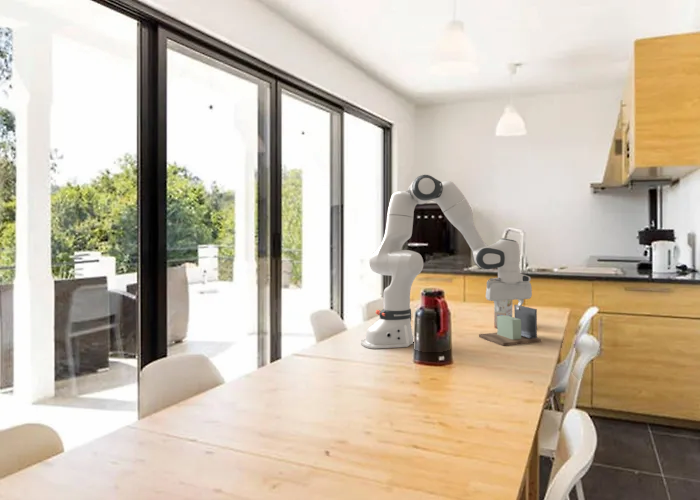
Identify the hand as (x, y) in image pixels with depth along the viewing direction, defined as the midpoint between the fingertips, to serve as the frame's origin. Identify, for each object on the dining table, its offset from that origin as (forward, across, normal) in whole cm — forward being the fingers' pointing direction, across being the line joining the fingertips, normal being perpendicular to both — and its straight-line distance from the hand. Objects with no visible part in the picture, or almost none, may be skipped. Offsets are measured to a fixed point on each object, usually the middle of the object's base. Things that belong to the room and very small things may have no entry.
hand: (508, 310), depth 218 cm
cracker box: (+12, +15, +27) cm, 33 cm away
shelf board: (+12, +1, +1) cm, 12 cm away
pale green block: (+11, +1, +1) cm, 11 cm away
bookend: (+11, +7, +1) cm, 13 cm away
